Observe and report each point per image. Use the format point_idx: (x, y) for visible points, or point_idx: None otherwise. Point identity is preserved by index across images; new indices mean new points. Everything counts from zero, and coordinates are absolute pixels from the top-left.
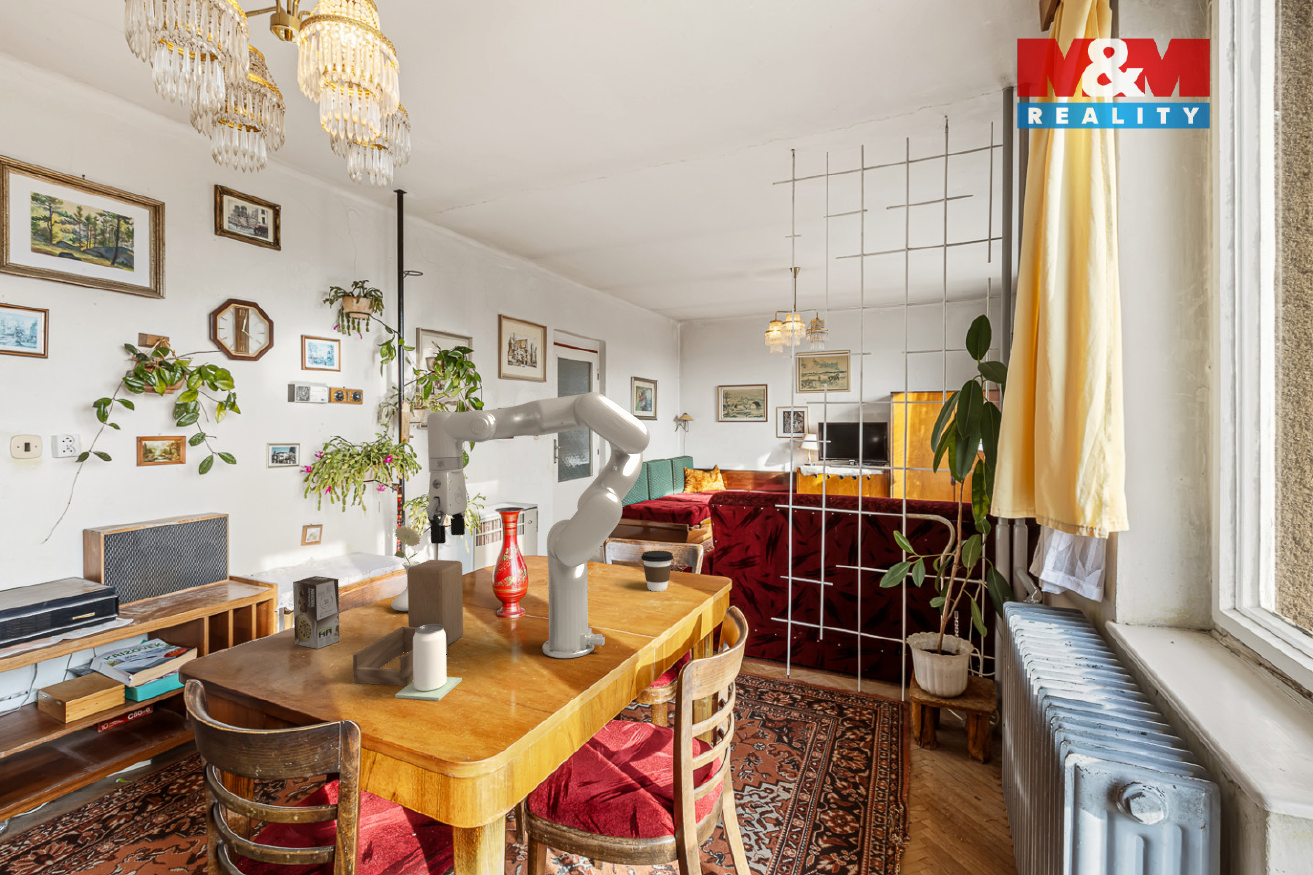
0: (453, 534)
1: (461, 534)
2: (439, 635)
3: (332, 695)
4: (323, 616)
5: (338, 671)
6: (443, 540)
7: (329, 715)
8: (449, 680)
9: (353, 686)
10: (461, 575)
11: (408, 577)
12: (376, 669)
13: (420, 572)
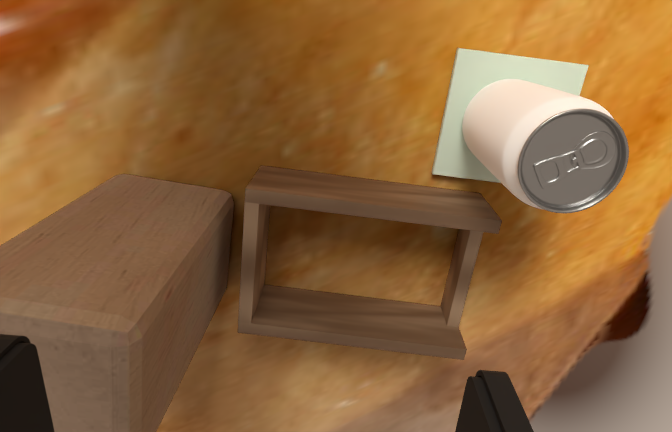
0: (52, 427)
1: (36, 354)
2: (600, 108)
3: (515, 326)
4: None
5: (385, 373)
6: (513, 396)
7: (617, 285)
8: (474, 79)
9: (471, 306)
10: None
11: None
12: (467, 282)
13: (142, 417)
